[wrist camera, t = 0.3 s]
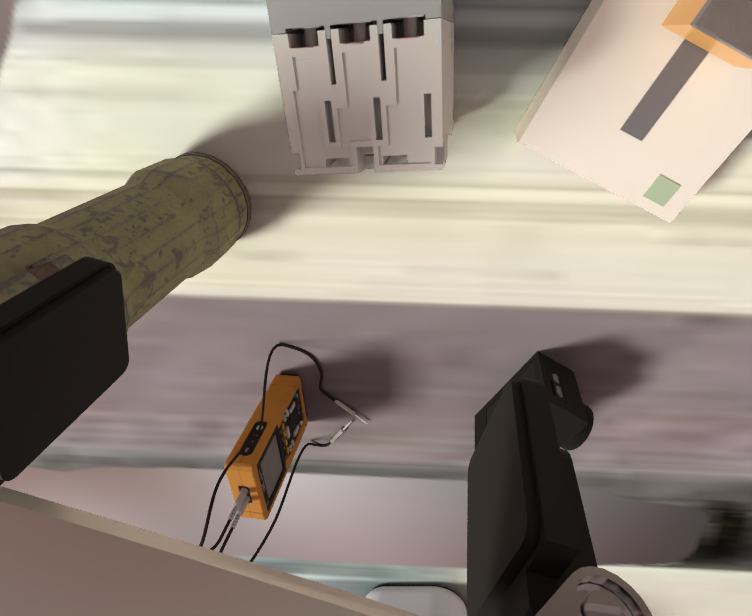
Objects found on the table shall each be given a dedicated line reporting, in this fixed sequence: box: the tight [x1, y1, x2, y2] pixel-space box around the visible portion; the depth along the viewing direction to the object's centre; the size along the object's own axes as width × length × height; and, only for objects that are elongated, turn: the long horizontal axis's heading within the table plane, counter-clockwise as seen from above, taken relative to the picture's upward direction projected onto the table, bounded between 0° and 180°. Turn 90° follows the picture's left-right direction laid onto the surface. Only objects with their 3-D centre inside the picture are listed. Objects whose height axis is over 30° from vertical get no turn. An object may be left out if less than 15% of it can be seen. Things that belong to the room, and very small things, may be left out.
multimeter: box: [199, 344, 368, 562], centre depth 44 cm, size 15×10×20 cm
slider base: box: [514, 0, 752, 223], centre depth 28 cm, size 22×12×4 cm, turn 156°
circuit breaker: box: [266, 0, 454, 175], centre depth 26 cm, size 8×14×15 cm, turn 5°
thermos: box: [0, 152, 251, 331], centre depth 28 cm, size 9×12×35 cm
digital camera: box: [475, 351, 594, 450], centre depth 44 cm, size 10×5×7 cm, turn 152°
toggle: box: [661, 0, 752, 69], centre depth 24 cm, size 4×5×5 cm
